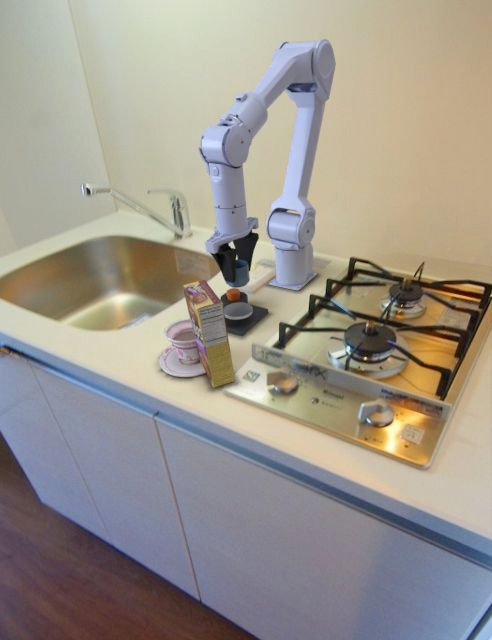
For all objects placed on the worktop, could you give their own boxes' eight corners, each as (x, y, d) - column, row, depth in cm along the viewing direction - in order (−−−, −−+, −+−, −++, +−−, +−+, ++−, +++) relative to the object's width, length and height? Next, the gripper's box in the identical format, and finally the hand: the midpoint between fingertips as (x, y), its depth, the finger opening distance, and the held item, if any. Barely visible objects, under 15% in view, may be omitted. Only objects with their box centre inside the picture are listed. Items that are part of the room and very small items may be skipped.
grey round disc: (234, 302, 88) (233, 299, 88) (258, 308, 86) (258, 305, 85) (217, 315, 84) (216, 313, 84) (242, 322, 82) (241, 319, 81)
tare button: (232, 294, 92) (231, 287, 91) (243, 297, 91) (242, 289, 90) (224, 300, 90) (223, 292, 89) (235, 302, 89) (234, 295, 88)
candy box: (197, 362, 78) (181, 284, 68) (219, 355, 79) (207, 278, 69) (211, 389, 71) (196, 307, 62) (235, 382, 72) (224, 300, 63)
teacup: (236, 347, 81) (232, 319, 77) (202, 384, 73) (196, 354, 69) (183, 336, 85) (177, 308, 81) (146, 370, 77) (137, 341, 73)
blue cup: (234, 276, 89) (232, 257, 86) (254, 280, 87) (253, 261, 84) (221, 285, 86) (218, 266, 83) (241, 290, 84) (239, 271, 81)
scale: (232, 301, 95) (230, 288, 93) (271, 311, 91) (270, 298, 89) (200, 325, 88) (198, 312, 86) (242, 336, 83) (240, 323, 82)
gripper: (235, 191, 83) (241, 259, 91) (187, 213, 74) (199, 286, 82) (265, 194, 80) (269, 264, 88) (219, 218, 70) (229, 293, 79)
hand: (237, 275), depth 85 cm, fingers closed on blue cup, 5 cm apart
